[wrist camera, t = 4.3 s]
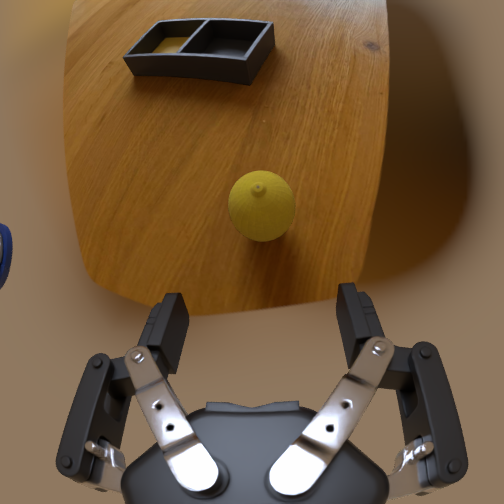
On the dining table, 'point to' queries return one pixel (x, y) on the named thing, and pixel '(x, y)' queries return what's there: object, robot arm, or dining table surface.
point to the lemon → (261, 206)
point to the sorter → (203, 49)
